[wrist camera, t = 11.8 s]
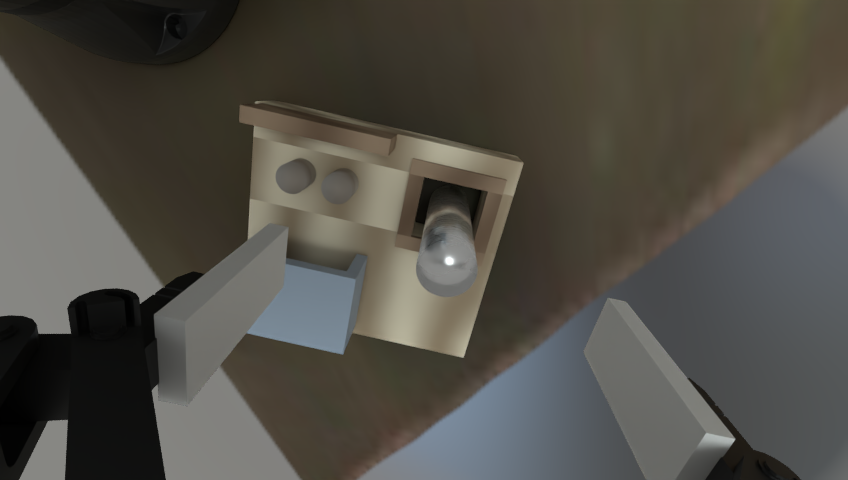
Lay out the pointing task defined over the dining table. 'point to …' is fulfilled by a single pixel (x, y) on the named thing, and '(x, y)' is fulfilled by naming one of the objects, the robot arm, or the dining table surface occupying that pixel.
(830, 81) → the dining table surface
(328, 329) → the block
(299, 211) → the base plate
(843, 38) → the dining table surface
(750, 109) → the dining table surface
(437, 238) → the pin
